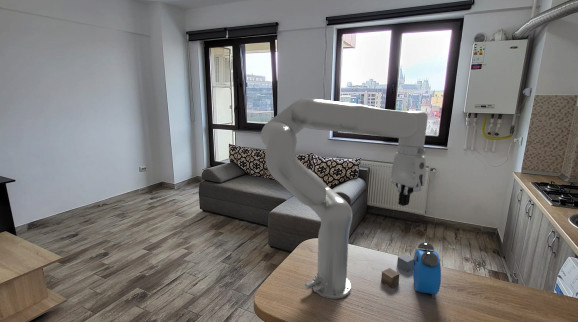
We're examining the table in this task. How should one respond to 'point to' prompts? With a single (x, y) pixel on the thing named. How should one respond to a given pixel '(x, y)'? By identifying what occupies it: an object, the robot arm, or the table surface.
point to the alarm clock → (426, 269)
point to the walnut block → (390, 277)
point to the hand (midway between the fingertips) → (403, 204)
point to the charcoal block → (405, 262)
